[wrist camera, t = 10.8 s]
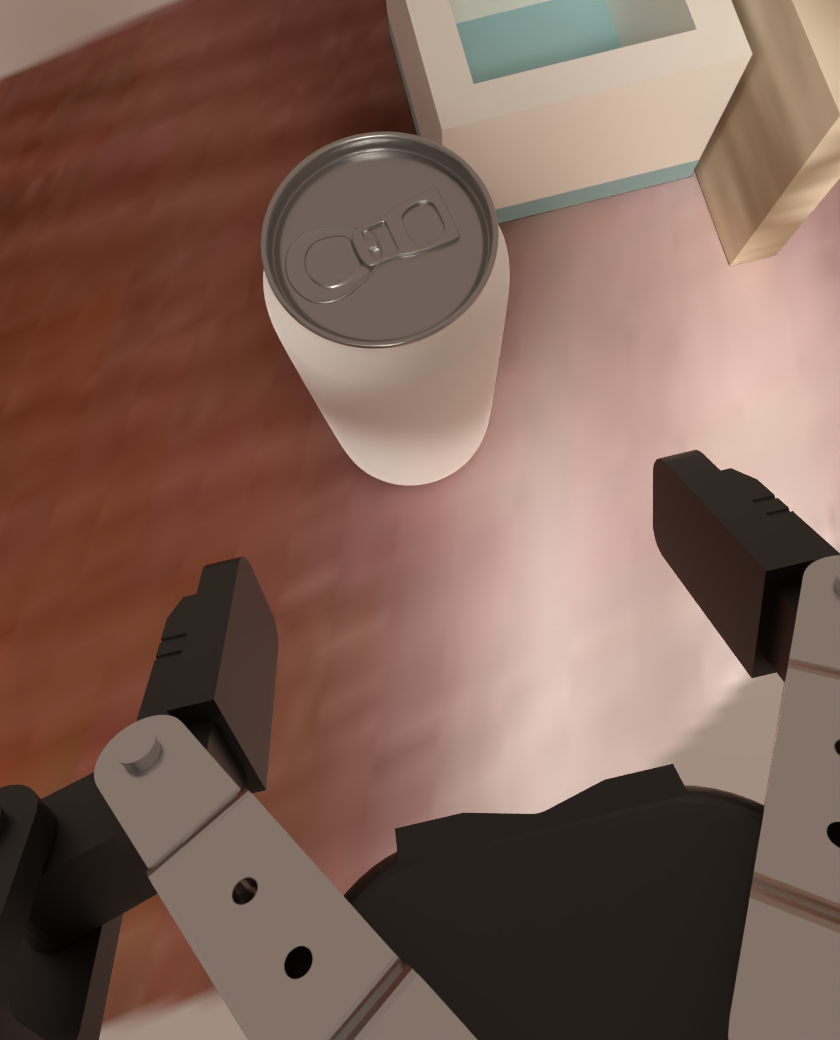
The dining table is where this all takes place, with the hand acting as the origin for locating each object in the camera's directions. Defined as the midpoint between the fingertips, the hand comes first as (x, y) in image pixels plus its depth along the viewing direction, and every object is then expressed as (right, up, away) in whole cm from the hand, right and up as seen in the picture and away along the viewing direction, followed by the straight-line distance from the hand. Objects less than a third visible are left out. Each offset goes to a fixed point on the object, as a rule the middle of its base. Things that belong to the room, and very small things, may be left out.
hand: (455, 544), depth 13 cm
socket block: (+4, +19, +17) cm, 26 cm away
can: (-1, +5, +14) cm, 15 cm away
